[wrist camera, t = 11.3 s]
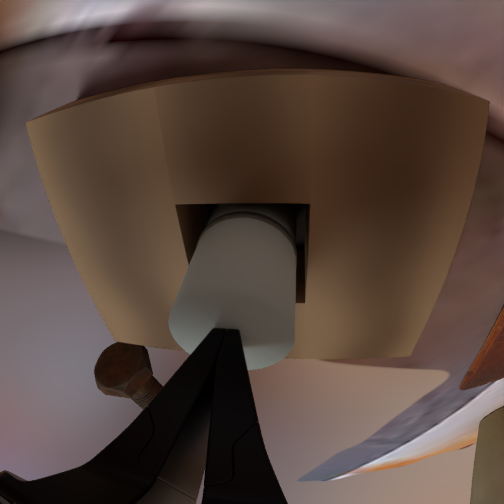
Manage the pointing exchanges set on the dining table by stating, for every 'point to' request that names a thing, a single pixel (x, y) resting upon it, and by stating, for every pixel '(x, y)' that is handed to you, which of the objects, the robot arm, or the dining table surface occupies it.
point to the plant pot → (489, 461)
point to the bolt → (127, 373)
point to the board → (269, 193)
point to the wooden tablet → (488, 359)
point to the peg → (242, 282)
